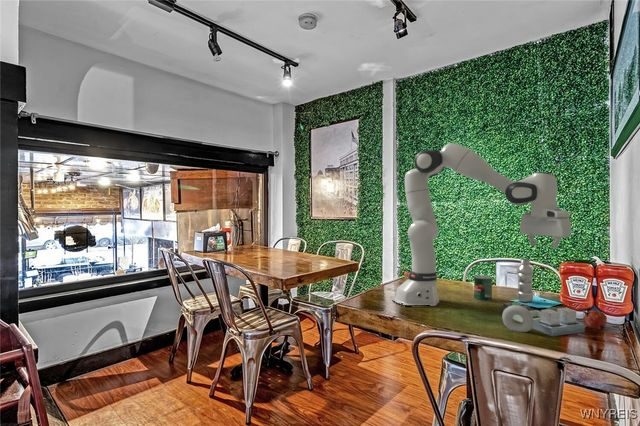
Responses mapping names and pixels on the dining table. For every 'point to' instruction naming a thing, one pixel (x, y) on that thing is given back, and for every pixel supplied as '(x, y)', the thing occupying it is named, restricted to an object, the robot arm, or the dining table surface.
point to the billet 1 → (550, 318)
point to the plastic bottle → (525, 281)
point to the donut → (521, 311)
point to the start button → (516, 303)
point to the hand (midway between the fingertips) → (543, 246)
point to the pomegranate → (595, 319)
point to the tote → (534, 313)
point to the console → (511, 305)
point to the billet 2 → (567, 316)
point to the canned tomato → (483, 288)
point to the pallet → (559, 328)
